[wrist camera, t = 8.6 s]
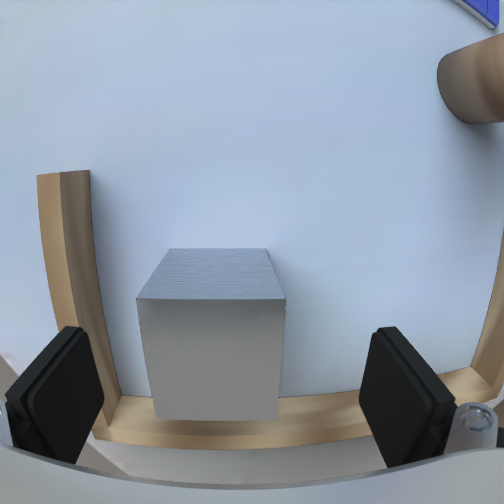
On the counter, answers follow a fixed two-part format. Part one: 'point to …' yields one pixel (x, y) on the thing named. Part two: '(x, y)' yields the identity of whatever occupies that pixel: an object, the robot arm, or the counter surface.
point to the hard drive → (483, 10)
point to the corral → (212, 432)
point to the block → (213, 335)
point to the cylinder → (474, 81)
